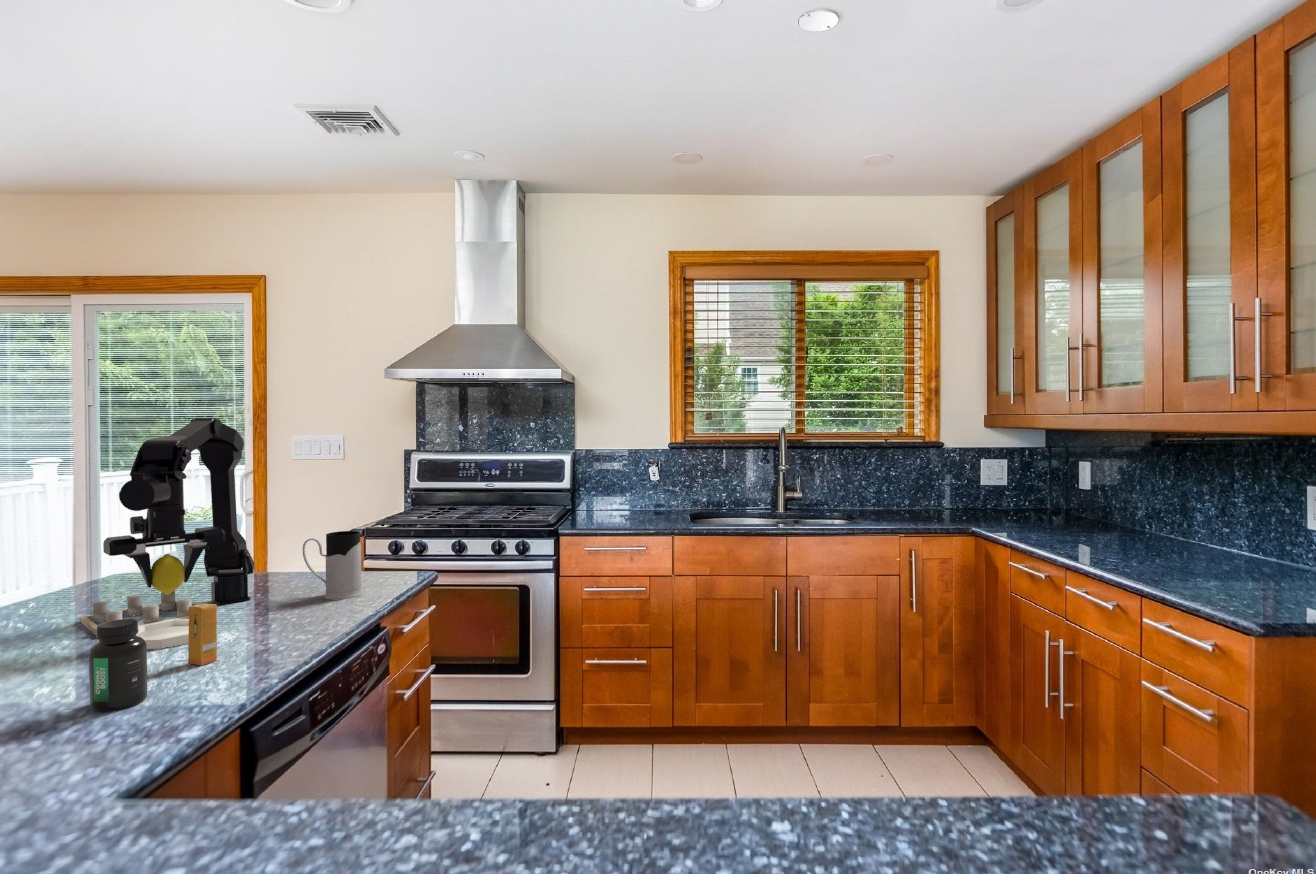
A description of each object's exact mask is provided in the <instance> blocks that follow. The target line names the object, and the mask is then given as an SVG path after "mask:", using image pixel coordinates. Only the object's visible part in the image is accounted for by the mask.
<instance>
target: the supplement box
mask: <svg viewBox="0 0 1316 874" xmlns="http://www.w3.org/2000/svg"><path fill="white" fill-rule="evenodd" d="M217 606H218V603H198V604H197V603H196V604H194V605H193V604H192V606H189V640H188V641H189V642H188V644H187V645H188V649H187V650H188V654H187V655H188V656H187V657H188V658H187V659H188V660H187V664H189V665H197V666H205V665H208V664H210V663H213V662H217V661H218V655H217V654H218V653H217V652H218V651H217V650H218V648H217V647H218V645H217V644H218V636H217V635H218V630H217V629H218V625H217V624H218V621H217V620H218V618H217V616H218V615H217V614H218V611H217V610H218V607H217Z"/></svg>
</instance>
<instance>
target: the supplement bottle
mask: <svg viewBox="0 0 1316 874" xmlns="http://www.w3.org/2000/svg"><path fill="white" fill-rule="evenodd" d="M138 621H139V620H137V619H134V618H122V619H121V620H114V621H109V622H101V623H100V624H98V625H97V636H96V640H97V642H96V643H95V644H93V645H92V646H91V647H90V649H89V651H88V678H89V679H88V683H89V686H88V688H89V707H90V708H91V709H92V710H93V711H94V712H101V713H102V712H115V711H120V710H124V709H125V710H126V709H129V708H131V707H135V706H137V705H139V704H141V703H142V702H144V701H145V700H146V699H147V697H148V655H147V654H148V653H147V652H148V650H147V645H146V642H145V640H144V639H143V638H141V637H138V636H136V634H137V633H138V625H139V624H138Z"/></svg>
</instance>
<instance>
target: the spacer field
mask: <svg viewBox="0 0 1316 874" xmlns="http://www.w3.org/2000/svg"><path fill="white" fill-rule="evenodd" d="M126 599H127V600H126V605H127V608H125V609H117V610H111V611H109V610H110V608H109V607H110V605H109V600H98V601H95V602H92V614H88V615H83V616H79V622H80V623H81V624H82V625H83V626H84V627H85V626H86V627H85V628H87V630H89V631H90V632H91V633H92V634H93V635H94V636H95V635H96V636H95V637H97V626H98V625H97V624H99V622H101V623H104V622H103V621H106V622H109V621H114V620H121V619H123V615H122V614H127V616H128V615H129V616H128V617H134V616H133V615H138V614H141V615H142V620H143V621H142V624H138V626H142V625H146V624H151V623H157V622H162V621H168V620H173V619H189V606H193V604H192V603H193V602H192V601H193V600H192V599H191V598H185V599H179V600H176V590H174V591H173V592H172V593H171V594H169V595H166V594H164V593H163V592H160V603H156V604H151V605H150V604H149V605H143V595H142V594H135V595H130V596H127V598H126ZM160 610H162V611H161V612H168V610H170V611H174V610H176V618H171V619H170V618H169V619H165V620H160V614H159V613H160ZM138 616H139V615H138ZM91 620H92V621H91Z"/></svg>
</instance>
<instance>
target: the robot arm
mask: <svg viewBox="0 0 1316 874" xmlns="http://www.w3.org/2000/svg"><path fill="white" fill-rule="evenodd" d="M244 443H245V441H244V438H243V437H242V436H241V435H240V433H239V432H238V430H236V429H235V428H232V427H231V426H228V425H226V424H225V423H223V422H222V421H221V420H220V419H219V418H216V417H195V418H192V419H191V420H190V422H189V423H188V424H186V425H184V426H183V427H181V428H180V429H178V430H177V431H175V432H173V433H172V434H170V435H167V436H161V437H154V438H150V439H146V440H145V441H144V442H143V443H142V444H141V446H140V447H139V449H138V450H137V454H136V456H135V458H134V462H133V464H132V467H131V470H130V473H129V476H130V480H128V481H126V482H125V483H124V484H123V485H122V486H121V488H120V491H119V493H118V498H119V501H120V504H122V506H123V507H125V508H126V509H128V510H129V511H132V512H133V511H134V512H139V511H144V510H146V517H145V518H144V516H143V515H139V516H131V517H130V518H129V530H130V534H131V535H122V536H121V535H120V536H119V535H118V536H111V537H110V536H109V537H107V538H106V539H104V541H103V546H102V547H103V548H102V549H103V553H104V554H106V555H108V556H109V557H112V556H113V557H115V556H125V557H127V558H129V559H133V561H134V562H135V564H136V565H137V567H138V569H139V571H140V573H141V576H142V578H143V579H144V582H145V585H146V586H147V588H152V587H153V586H152V576H151V567H152V566H151V558H150V557H151V556H150V555H151V554H150V553H149V552H146V551H147V550H146V549H147V548H152V547H153V548H154V547H159V546H161V547H163V546H169V545H177V544H178V545H179V544H182V545H183V553H184V558H183V566H184V571H185V577H184V581H183V583H188V581H189V579H190V577H191V574H192V573H193V572H192V571H193V569H194V567H195V565H196V563H197V561H198V560H199V558H200V556H201V554H202V552H203V551H204V555H203V564H204V569H205V573H206V574H205V575H206V578H210V577H213V581H212V582H211V583H210V587H211V588H210V589H211V590H210V592H211V594H210V595H211V597H210V598H211V599H210V600H211V601H212V602H213V603H215V604H217V605H227V604H233V603H239V602H243V601H248V600H249V601H250V600H252V599H251V597H252V596H251V597H250V596H249V583H248V580H249V579H248V578H249V577H248V576H249V575H251V574H254V573H255V570H254V569H255V561H254V559H253V557H252V555H251V554H250V551H249V549H248V547H247V541H246V539H245V538H244V536H242V534H241V533H240V532H239V531H238V517H237V516H238V515H237V502H236V501H237V496H236V480H235V478H236V477H235V469H236V467H237V466H238V464H239V463H240V461H241V459H242V458H243V455H242V454H243V450H244V447H245V446H244ZM195 450H197V451H198V452H199V456H200V462H202V464H203V465H204V466H205V467H206V468H207V470H208V471H209V477H210V478H209V479H210V492H211V493H210V495H211V513H212V514H211V516H212V526H205V527H196V528H195V529H194V532H188V533H187V532H186V530H185V515H186V509H185V506H184V505H185V501H184V499H185V498H184V497H185V496H184V480H186V479H187V475H186V473H184V471H185V470H186V467H187V465H188V464H189V463H190V461H191V460H192V452H194V451H195ZM140 534H141V535H142V537H140V538H136V537H135V536H132V535H140Z"/></svg>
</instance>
